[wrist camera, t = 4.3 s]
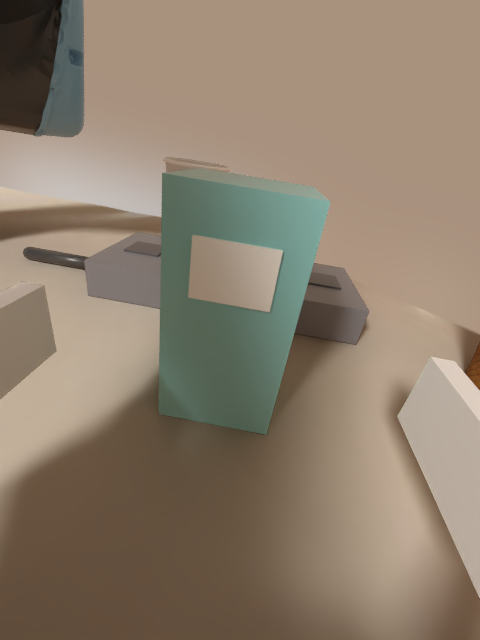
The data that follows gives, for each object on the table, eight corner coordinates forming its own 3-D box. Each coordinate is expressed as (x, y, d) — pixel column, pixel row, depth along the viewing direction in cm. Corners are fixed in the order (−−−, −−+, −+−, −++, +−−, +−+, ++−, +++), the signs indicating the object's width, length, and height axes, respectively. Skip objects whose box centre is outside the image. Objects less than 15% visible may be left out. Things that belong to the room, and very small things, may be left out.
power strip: (-19, 275, 25) (-33, 226, 23) (59, 245, 34) (53, 207, 32) (356, 344, 24) (374, 299, 22) (335, 294, 33) (346, 259, 31)
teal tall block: (157, 416, 15) (160, 173, 10) (187, 351, 20) (200, 168, 15) (266, 437, 15) (331, 202, 9) (269, 367, 20) (313, 186, 14)
